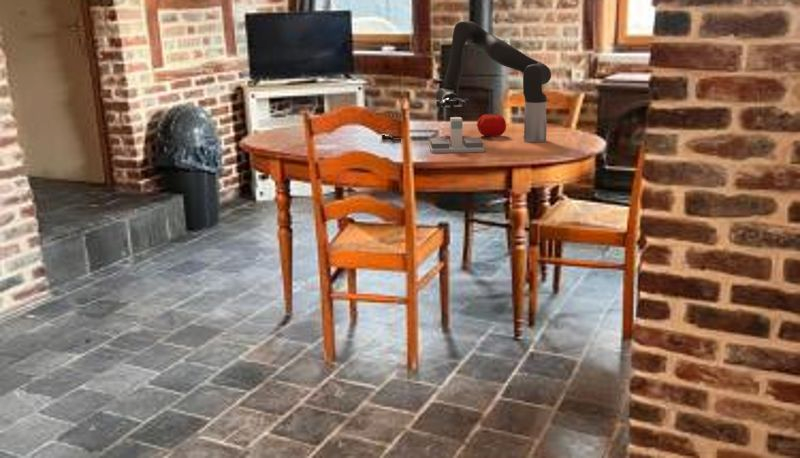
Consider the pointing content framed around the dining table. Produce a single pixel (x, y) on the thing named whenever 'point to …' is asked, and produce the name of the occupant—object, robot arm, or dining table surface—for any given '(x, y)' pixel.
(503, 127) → the tomato
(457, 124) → the grey module
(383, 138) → the ammunition clip
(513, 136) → the dining table surface
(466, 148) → the rack board
